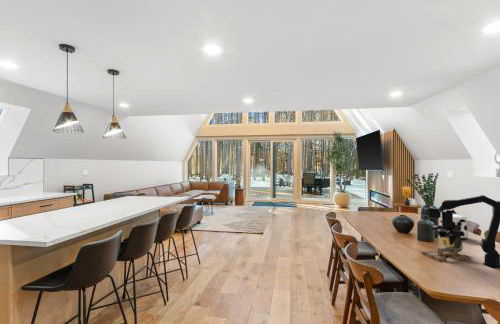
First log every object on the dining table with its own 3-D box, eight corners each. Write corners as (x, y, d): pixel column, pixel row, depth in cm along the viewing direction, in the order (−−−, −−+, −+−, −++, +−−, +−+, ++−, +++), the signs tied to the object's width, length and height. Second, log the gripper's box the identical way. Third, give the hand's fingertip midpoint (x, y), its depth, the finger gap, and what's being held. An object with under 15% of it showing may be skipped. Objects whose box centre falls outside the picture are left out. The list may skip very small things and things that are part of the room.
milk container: (459, 235, 227) (459, 214, 227) (473, 240, 210) (473, 218, 210) (438, 234, 230) (437, 213, 230) (450, 239, 213) (450, 217, 213)
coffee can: (462, 239, 182) (461, 232, 173) (463, 254, 178) (462, 248, 168) (444, 237, 188) (442, 230, 179) (444, 251, 184) (442, 245, 175)
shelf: (466, 259, 167) (466, 249, 168) (438, 261, 165) (438, 250, 165) (447, 252, 181) (447, 242, 181) (421, 253, 179) (421, 243, 179)
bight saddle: (454, 246, 167) (454, 239, 167) (448, 246, 167) (448, 239, 167) (446, 243, 173) (446, 236, 173) (441, 244, 172) (441, 237, 172)
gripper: (472, 222, 162) (472, 247, 162) (446, 216, 180) (446, 239, 180) (456, 222, 160) (456, 248, 160) (431, 217, 179) (431, 239, 179)
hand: (447, 243), depth 170 cm, fingers closed on bight saddle, 5 cm apart
